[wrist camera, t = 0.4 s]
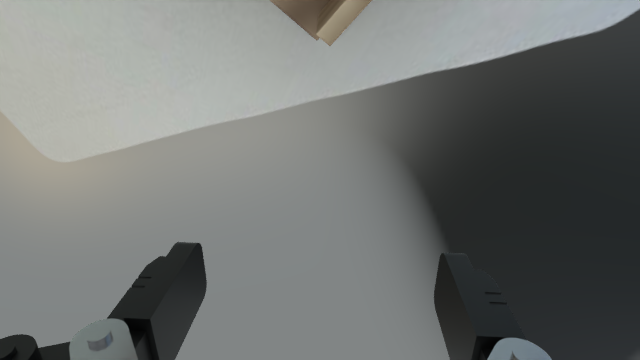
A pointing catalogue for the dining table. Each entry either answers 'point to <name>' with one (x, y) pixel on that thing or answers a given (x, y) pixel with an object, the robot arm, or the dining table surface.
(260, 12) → the dining table surface
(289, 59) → the dining table surface
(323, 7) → the light wood shelf
